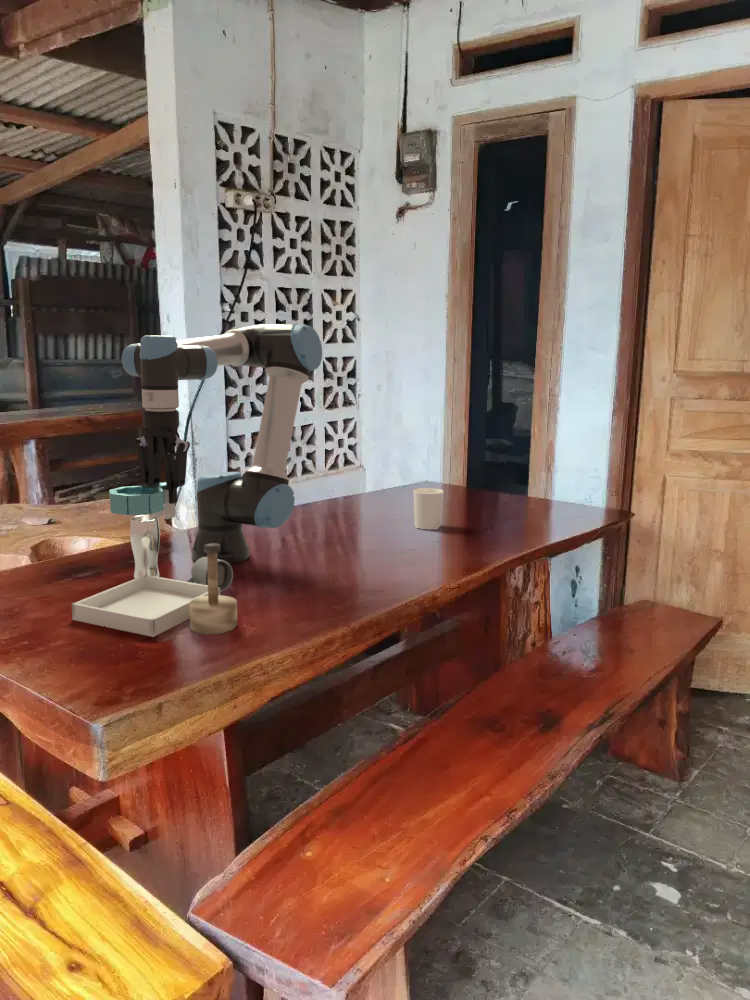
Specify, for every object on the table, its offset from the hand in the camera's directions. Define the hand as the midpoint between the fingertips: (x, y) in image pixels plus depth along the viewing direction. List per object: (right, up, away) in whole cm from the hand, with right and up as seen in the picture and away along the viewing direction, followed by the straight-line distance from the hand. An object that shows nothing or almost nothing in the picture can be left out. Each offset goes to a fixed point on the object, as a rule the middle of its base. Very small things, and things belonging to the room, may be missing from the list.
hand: (164, 516), depth 169 cm
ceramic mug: (+6, -18, +14) cm, 23 cm away
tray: (-3, -20, -1) cm, 21 cm away
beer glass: (-10, -16, +22) cm, 29 cm away
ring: (-2, +2, -6) cm, 6 cm away
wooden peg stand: (+13, -22, -9) cm, 27 cm away
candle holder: (+63, -5, +80) cm, 102 cm away
